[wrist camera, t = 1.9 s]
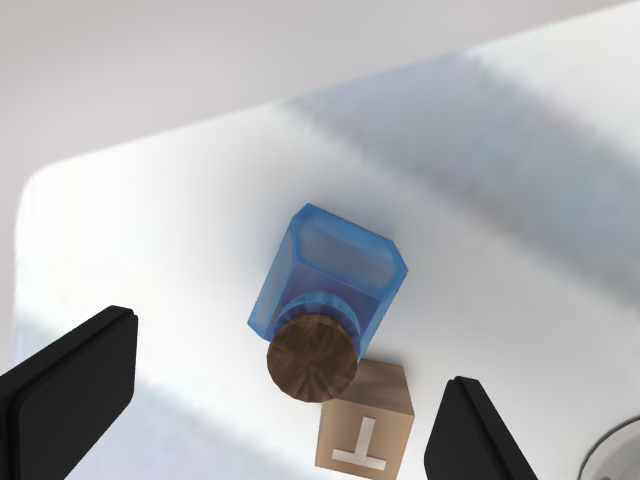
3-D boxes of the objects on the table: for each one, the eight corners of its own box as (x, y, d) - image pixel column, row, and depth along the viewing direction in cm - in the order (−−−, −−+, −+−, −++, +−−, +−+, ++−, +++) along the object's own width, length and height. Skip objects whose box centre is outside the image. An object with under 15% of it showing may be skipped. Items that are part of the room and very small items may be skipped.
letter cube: (402, 366, 25) (415, 417, 20) (386, 424, 26) (394, 486, 21) (334, 351, 25) (329, 398, 20) (321, 409, 26) (314, 467, 21)
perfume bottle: (353, 319, 24) (354, 465, 13) (272, 283, 24) (200, 395, 13) (393, 242, 23) (437, 325, 11) (308, 202, 23) (262, 246, 11)
